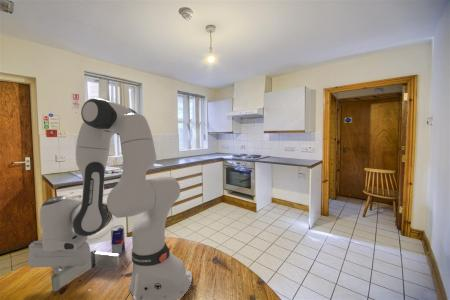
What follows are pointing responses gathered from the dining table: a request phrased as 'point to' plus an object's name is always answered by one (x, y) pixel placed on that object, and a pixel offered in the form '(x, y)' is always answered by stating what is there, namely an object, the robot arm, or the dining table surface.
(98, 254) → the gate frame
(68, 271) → the gate
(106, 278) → the dining table surface
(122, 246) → the energy drink
